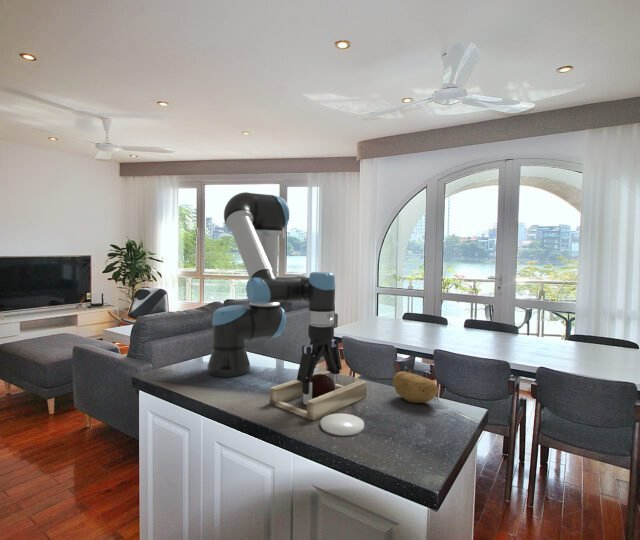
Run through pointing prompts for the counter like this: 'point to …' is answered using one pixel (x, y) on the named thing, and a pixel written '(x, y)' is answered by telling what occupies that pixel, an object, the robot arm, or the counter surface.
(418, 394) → the potato
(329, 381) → the dark brown rounded piece
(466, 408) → the counter surface
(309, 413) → the cradle
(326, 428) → the plate
